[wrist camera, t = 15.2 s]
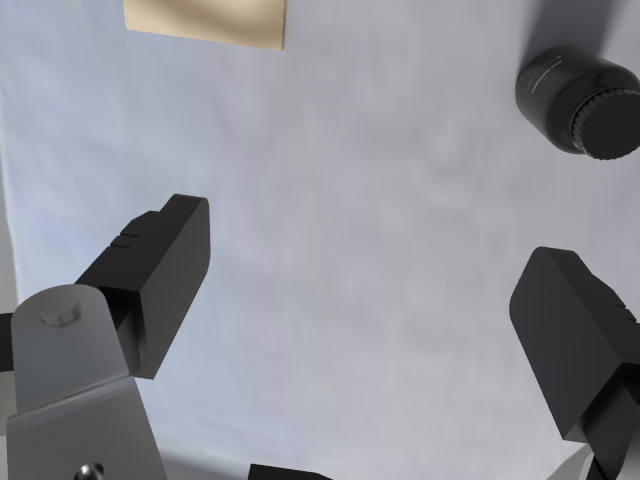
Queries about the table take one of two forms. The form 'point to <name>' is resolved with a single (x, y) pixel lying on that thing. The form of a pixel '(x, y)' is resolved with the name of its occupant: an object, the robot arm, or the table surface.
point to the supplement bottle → (581, 103)
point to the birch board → (212, 20)
